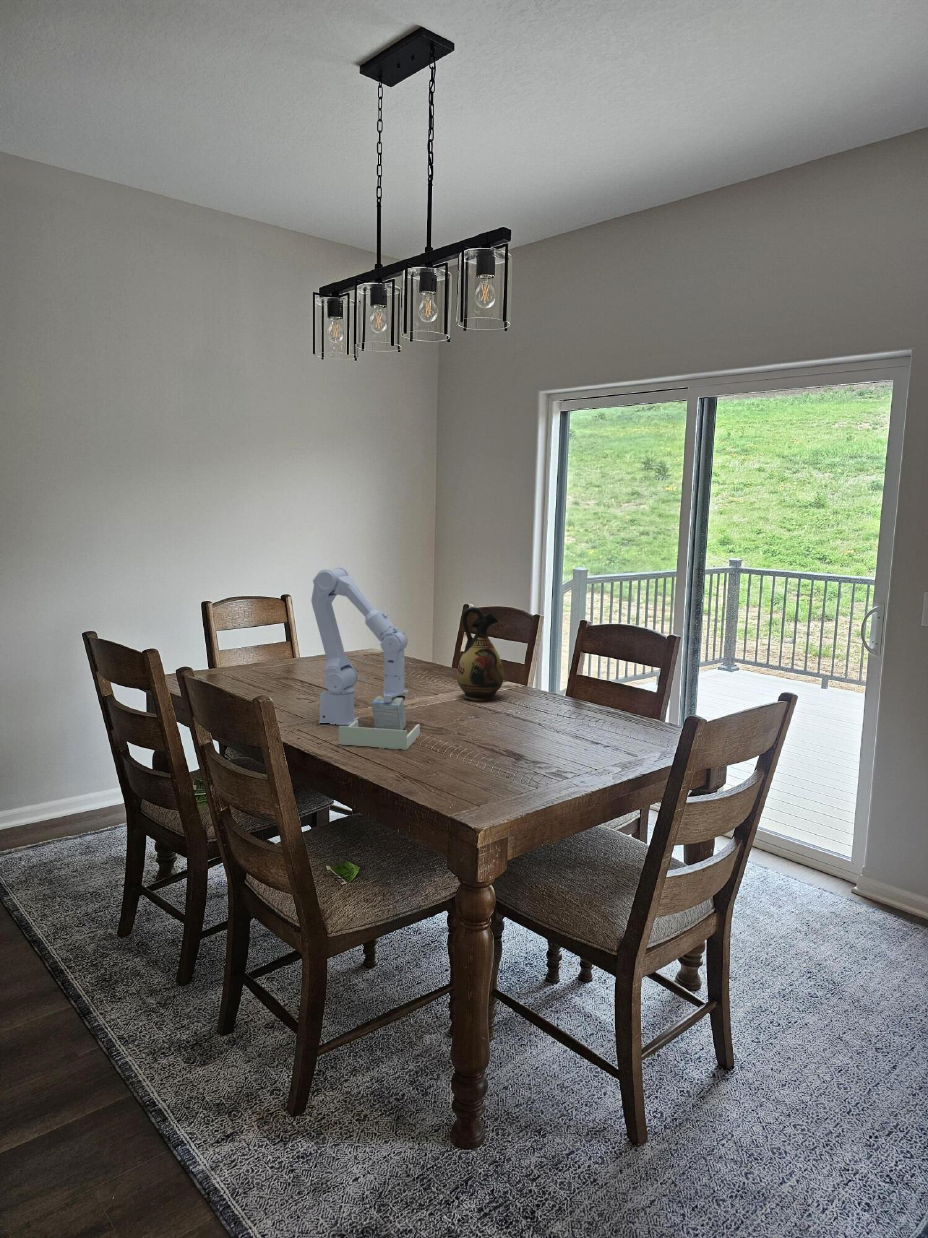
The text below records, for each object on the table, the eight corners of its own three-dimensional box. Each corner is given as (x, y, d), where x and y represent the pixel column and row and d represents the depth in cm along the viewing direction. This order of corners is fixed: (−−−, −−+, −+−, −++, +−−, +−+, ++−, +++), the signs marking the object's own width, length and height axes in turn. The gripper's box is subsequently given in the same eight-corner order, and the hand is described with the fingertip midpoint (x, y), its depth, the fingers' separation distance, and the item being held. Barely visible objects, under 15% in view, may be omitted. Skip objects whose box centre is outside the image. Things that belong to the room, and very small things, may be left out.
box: (338, 745, 210) (338, 726, 210) (356, 730, 225) (356, 713, 224) (406, 750, 207) (406, 731, 207) (419, 735, 221) (419, 717, 221)
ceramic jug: (504, 694, 274) (506, 605, 270) (502, 704, 258) (504, 611, 255) (454, 692, 275) (455, 604, 271) (448, 702, 260) (450, 609, 256)
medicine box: (406, 724, 227) (403, 697, 224) (401, 732, 223) (398, 705, 220) (380, 722, 229) (377, 695, 226) (374, 730, 226) (371, 703, 222)
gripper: (401, 680, 219) (401, 729, 221) (414, 670, 234) (413, 716, 235) (376, 679, 221) (376, 728, 222) (390, 669, 235) (390, 715, 237)
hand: (393, 722), depth 229 cm, fingers closed
